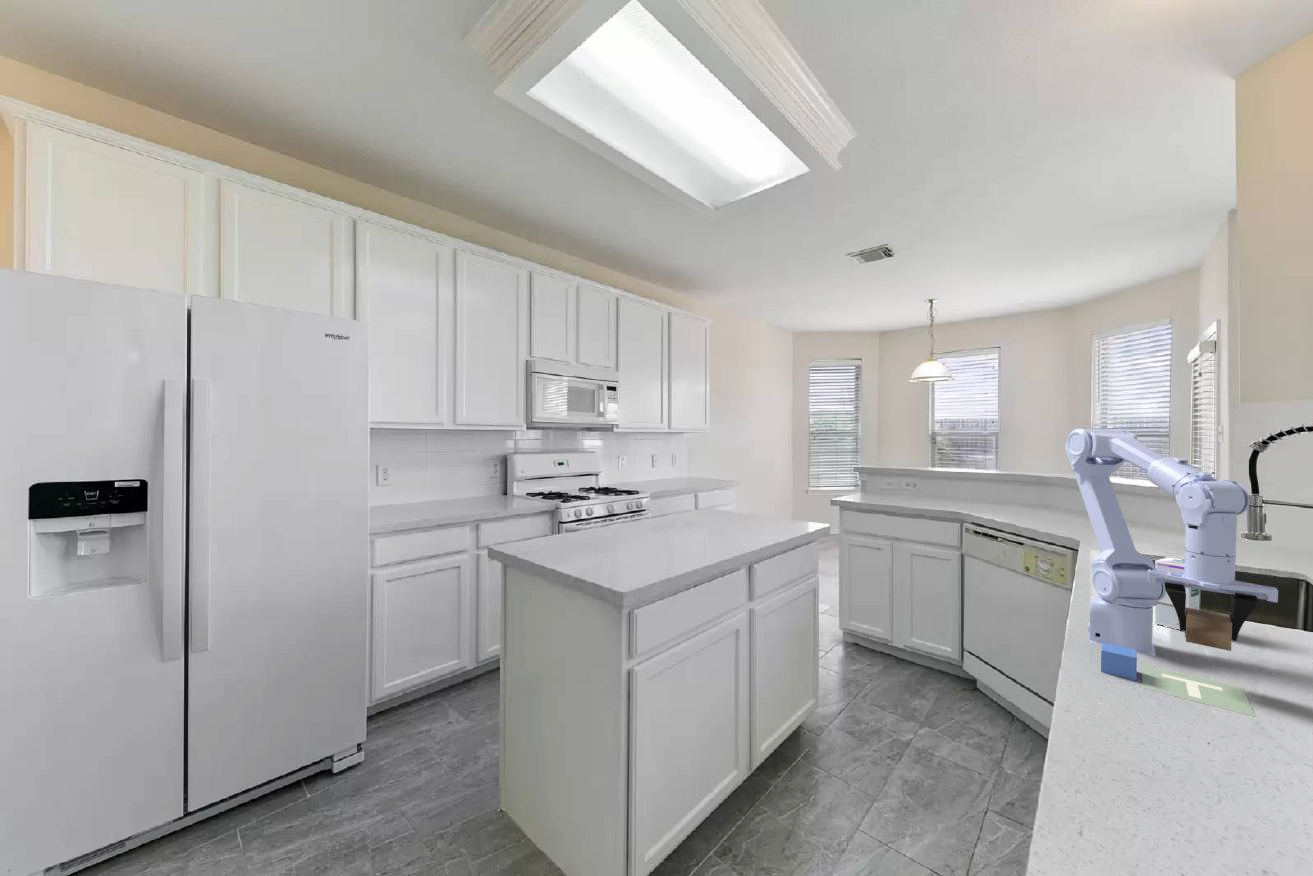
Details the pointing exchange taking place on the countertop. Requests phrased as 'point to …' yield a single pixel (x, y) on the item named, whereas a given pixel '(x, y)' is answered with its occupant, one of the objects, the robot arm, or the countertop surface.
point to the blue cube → (1119, 661)
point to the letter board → (1196, 689)
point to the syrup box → (1165, 608)
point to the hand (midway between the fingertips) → (1207, 634)
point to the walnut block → (1208, 628)
